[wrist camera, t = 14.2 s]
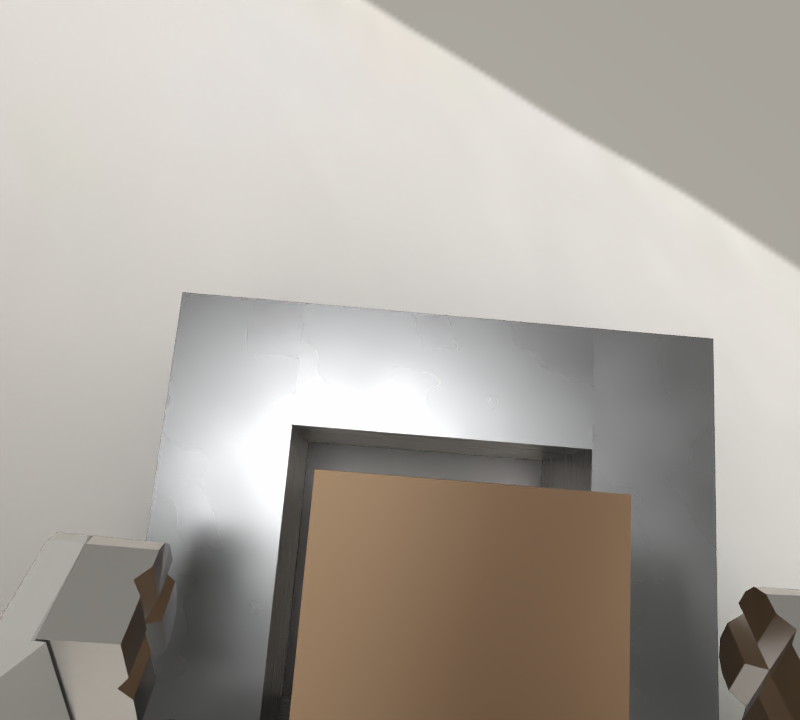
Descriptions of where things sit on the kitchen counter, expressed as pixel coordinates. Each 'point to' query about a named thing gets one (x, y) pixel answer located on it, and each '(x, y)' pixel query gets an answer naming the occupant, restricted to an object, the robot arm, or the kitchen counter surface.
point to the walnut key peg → (462, 602)
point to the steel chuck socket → (424, 431)
